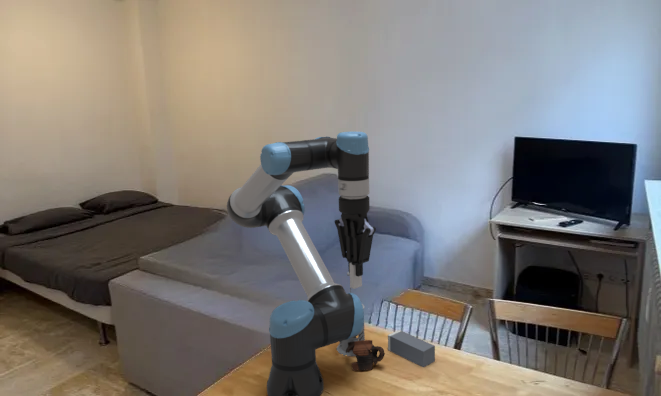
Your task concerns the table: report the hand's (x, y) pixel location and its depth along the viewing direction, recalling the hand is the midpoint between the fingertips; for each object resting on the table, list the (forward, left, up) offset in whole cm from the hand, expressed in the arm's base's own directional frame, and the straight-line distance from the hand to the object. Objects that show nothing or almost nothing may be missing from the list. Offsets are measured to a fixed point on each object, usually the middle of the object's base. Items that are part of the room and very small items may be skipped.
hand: (356, 286), depth 135 cm
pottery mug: (-9, +11, -30) cm, 33 cm away
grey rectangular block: (+3, +24, -27) cm, 36 cm away
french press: (-19, +15, -30) cm, 38 cm away
